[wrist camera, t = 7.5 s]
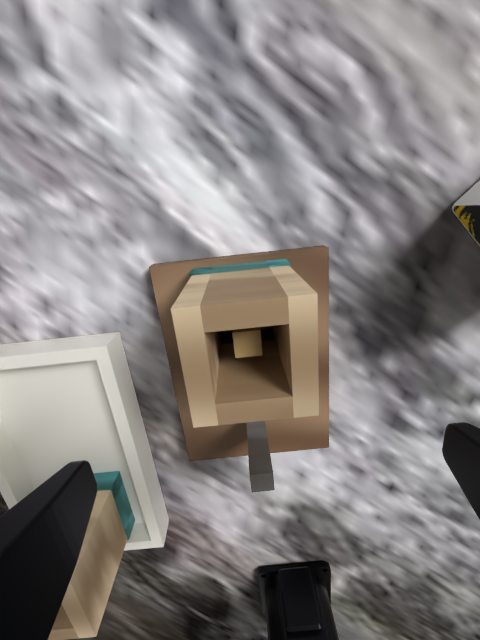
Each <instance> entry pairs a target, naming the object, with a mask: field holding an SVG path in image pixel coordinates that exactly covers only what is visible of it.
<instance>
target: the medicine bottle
mask: <svg viewBox="0 0 480 640" xmlns="http://www.w3.org/2000/svg"><path fill="white" fill-rule="evenodd" d="M452 211H453V213H454V214H455V215H456V216H457V218H458V219H459V220H460V222H461V223H462V224H463V226H464V227H465V228H466V230H467V231H468V232H469V234H470V235H471V236H472V237H473V239H474V240H475V241H476V243H477V244H478V245H479V247H480V180H479V181H478V182H477V183H476V184H475V185H474V186H473V187H472V188H471V189H469V190H468V191H467V192H466V193H465V194H464V195H463V196H462V197H461V198H460V199H459V200H457V201H456V202H455V203H454V205H453V207H452Z"/></svg>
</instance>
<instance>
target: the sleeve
mask: <svg viewBox="0 0 480 640" xmlns="http://www.w3.org/2000/svg"><path fill="white" fill-rule="evenodd" d="M93 474H94V476H95V479H96V482H97V495H96V499H95V502H94V506H93V509H92V513H91V516H90V520H89V523H88V527H87V530H86V534H85V537H84V541H83V544H82V548H81V551H80V554H79V558H78V561H77V564H76V567H75V569H74V572H73V575H72V578H71V580H70V583H69V585H68V588H67V591H66V593H65V596H64V599H63V601H62V604H61V606H60V609H59V612H58V614H57V617H56V619H55V622H54V625H53V627H52V630H51V633H50V635H49V638H48V640H65V639H76V638H87V637H96V635H97V632H98V629H99V626H100V623H101V620H102V617H103V613H104V610H105V607H106V604H107V601H108V598H109V595H110V592H111V589H112V585H113V582H114V579H115V576H116V573H117V570H118V567H119V564H120V560H121V557H122V554H123V551H124V548H125V545H126V542H127V540H129V538H130V535H131V532H132V529H133V526H134V522H135V518H134V515H133V512H132V509H131V505H130V502H129V499H128V496H127V493H126V490H125V487H124V483H123V480H122V477H121V474H120V471H112V472H102V473H93Z"/></svg>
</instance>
